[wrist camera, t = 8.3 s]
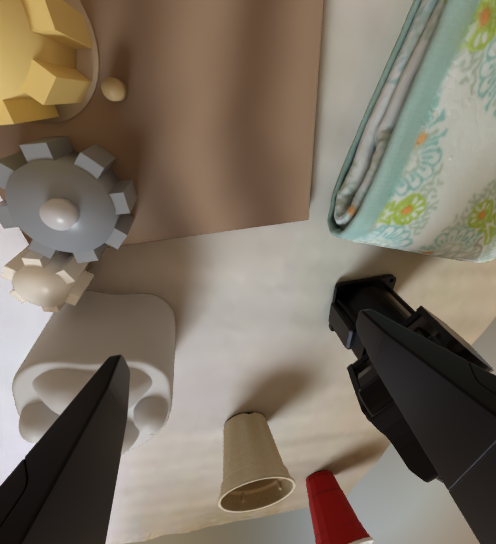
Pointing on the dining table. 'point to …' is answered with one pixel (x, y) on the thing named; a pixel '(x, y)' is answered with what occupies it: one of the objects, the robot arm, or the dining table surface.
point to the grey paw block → (100, 362)
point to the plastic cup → (333, 512)
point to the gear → (66, 198)
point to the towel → (428, 140)
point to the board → (196, 110)
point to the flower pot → (252, 466)
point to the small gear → (47, 279)
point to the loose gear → (39, 59)
